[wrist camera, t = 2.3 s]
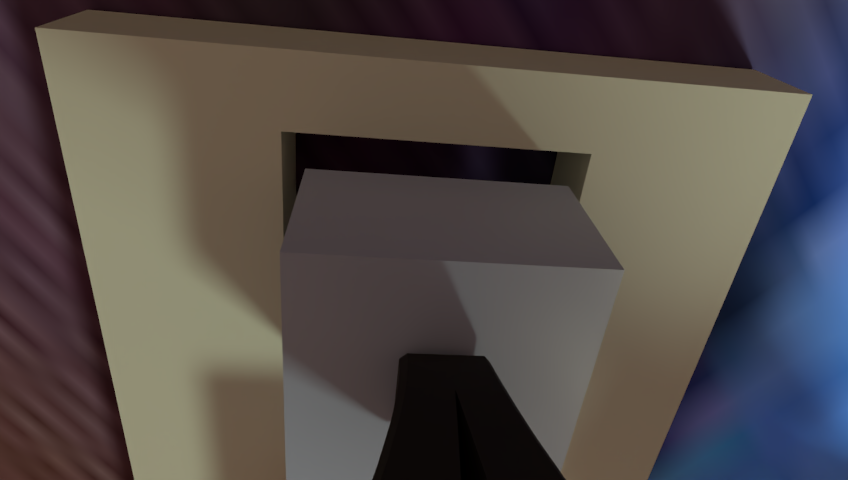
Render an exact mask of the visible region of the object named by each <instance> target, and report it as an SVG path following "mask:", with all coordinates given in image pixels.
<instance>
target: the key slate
mask: <svg viewBox="0 0 848 480" xmlns="http://www.w3.org/2000/svg"><path fill="white" fill-rule="evenodd" d="M623 274H624V269H623V267H622V266H621V264H620V263H619V261H618V260H617V258H616V257H615V255H614V254H613V252H612V251H611V249H610V248H609V246H608V245H607V243H606V242H605V240H604V239H603V237H602V236H601V234H600V233H599V231H598V230H597V228H596V227H595V225H594V224H593V222H592V221H591V219H590V218H589V216H588V215H587V213H586V212H585V210H584V209H583V207H582V206H581V204H580V203H579V201H578V200H577V198H576V197H575V195H574V194H573V192H572V191H571V189H570V188H569V186H560V185H545V184H529V183H514V182H499V181H484V180H469V179H454V178H439V177H424V176H409V175H394V174H379V173H364V172H349V171H334V170H319V169H305V171H304V174H303V177H302V181H301V184H300V187H299V190H298V194H297V197H296V200H295V203H294V207H293V210H292V213H291V217H290V220H289V223H288V226H287V230H286V233H285V236H284V240H283V243H282V246H281V249H280V282H281V317H282V353H283V388H284V424H285V459H286V480H372V479H373V476H374V473H375V470H376V467H377V464H378V461H379V458H380V455H381V452H382V448H383V445H384V442H385V438H386V435H387V432H388V429H389V425H390V422H391V418H392V413H393V409H394V404H395V394H396V384H397V374H398V364H399V358H401V357H402V356H404V355H405V354H407V353H414V354H442V355H471V356H485V357H486V358H487V359H488V361H489V362H490V363H491V365H492V367H493V368H494V370H495V372H496V374H497V375H498V377H499V379H500V380H501V382H502V384H503V385H504V387H505V389H506V390H507V392H508V394H509V395H510V397H511V399H512V400H513V402H514V404H515V405H516V407H517V408H518V410H519V411H520V413H521V415H522V416H523V418H524V419H525V421H526V422H527V424H528V425H529V427H530V428H531V430H532V431H533V433H534V434H535V436H536V437H537V439H538V440H539V442H540V443H541V445H542V446H543V448H544V449H545V451H546V452H547V453H548V455H549V456H550V458H551V459H552V461H553V462H554V463H555V465H556V466H557V468H558V469H559V470H560V472H561V470H562V467H563V463H564V460H565V457H566V454H567V451H568V448H569V445H570V441H571V438H572V435H573V432H574V429H575V426H576V422H577V419H578V416H579V413H580V410H581V407H582V403H583V400H584V397H585V394H586V391H587V388H588V384H589V381H590V378H591V375H592V372H593V369H594V365H595V362H596V359H597V356H598V353H599V350H600V346H601V343H602V340H603V337H604V334H605V331H606V327H607V324H608V321H609V318H610V315H611V312H612V308H613V305H614V302H615V299H616V296H617V293H618V289H619V286H620V283H621V280H622V277H623Z"/></svg>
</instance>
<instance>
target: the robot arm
mask: <svg viewBox="0 0 848 480" xmlns="http://www.w3.org/2000/svg"><path fill="white" fill-rule="evenodd" d="M372 480H566V479H565V478H564V476H563V475H562V473H561V472H560V470H559V469H558V468H557V466H556V465H555V463H554V462H553V461H552V459H551V458H550V456H549V455H548V453H547V452H546V451H545V449H544V448H543V446H542V445H541V443H540V442H539V440H538V439H537V437H536V436H535V434H534V433H533V431H532V430H531V428H530V427H529V425H528V424H527V422H526V421H525V419H524V418H523V416H522V415H521V413H520V411H519V410H518V408H517V407H516V405H515V404H514V402H513V400H512V399H511V397H510V395H509V394H508V392H507V390H506V389H505V387H504V385H503V384H502V382H501V380H500V379H499V377H498V375H497V374H496V372H495V370H494V368H493V367H492V365H491V363H490V362H489V361H488V359H487V358H486V357H485V356H471V355H442V354H414V353H407V354H405V355H404V356H402V357H401V358H399V364H398V374H397V384H396V394H395V404H394V409H393V413H392V418H391V422H390V425H389V429H388V432H387V435H386V438H385V442H384V445H383V448H382V452H381V455H380V458H379V461H378V464H377V467H376V470H375V473H374V476H373V479H372Z"/></svg>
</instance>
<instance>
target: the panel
mask: <svg viewBox="0 0 848 480" xmlns="http://www.w3.org/2000/svg"><path fill="white" fill-rule="evenodd" d="M35 31H36V35H37V40H38V45H39V49H40V54H41V58H42V63H43V67H44V72H45V76H46V81H47V85H48V90H49V94H50V99H51V104H52V108H53V113H54V117H55V122H56V126H57V131H58V135H59V140H60V144H61V149H62V154H63V158H64V163H65V167H66V172H67V176H68V181H69V185H70V190H71V194H72V199H73V204H74V208H75V213H76V217H77V222H78V226H79V231H80V235H81V240H82V244H83V249H84V254H85V258H86V263H87V267H88V272H89V276H90V281H91V285H92V290H93V294H94V299H95V304H96V308H97V313H98V317H99V322H100V326H101V331H102V335H103V340H104V344H105V349H106V353H107V358H108V363H109V367H110V372H111V376H112V381H113V385H114V390H115V394H116V399H117V403H118V408H119V413H120V417H121V422H122V426H123V431H124V435H125V440H126V444H127V449H128V453H129V458H130V463H131V467H132V472H133V476H134V480H286V459H285V424H284V388H283V353H282V317H281V282H280V249H281V246H282V243H283V240H284V236H285V233H286V230H287V226H288V223H289V220H290V217H291V213H292V210H293V207H294V203H295V200H296V133H309V134H323V135H337V136H351V137H364V138H378V139H392V140H406V141H419V142H433V143H447V144H461V145H474V146H488V147H502V148H516V149H530V150H543V151H557V156H556V161H555V165H554V170H553V174H552V179H551V183H550V185H560V186H569V188H570V189H571V191H572V192H573V194H574V195H575V197H576V198H577V200H578V201H579V203H580V204H581V206H582V207H583V209H584V210H585V212H586V213H587V215H588V216H589V218H590V219H591V221H592V222H593V224H594V225H595V227H596V228H597V230H598V231H599V233H600V234H601V236H602V237H603V239H604V240H605V242H606V243H607V245H608V246H609V248H610V249H611V251H612V252H613V254H614V255H615V257H616V258H617V260H618V261H619V263H620V264H621V266H622V267H623V269H624V274H623V277H622V280H621V283H620V286H619V289H618V293H617V296H616V299H615V302H614V305H613V308H612V312H611V315H610V318H609V321H608V324H607V327H606V331H605V334H604V337H603V340H602V343H601V346H600V350H599V353H598V356H597V359H596V362H595V365H594V369H593V372H592V375H591V378H590V381H589V384H588V388H587V391H586V394H585V397H584V400H583V403H582V407H581V410H580V413H579V416H578V419H577V422H576V426H575V429H574V432H573V435H572V438H571V441H570V445H569V448H568V451H567V454H566V457H565V460H564V463H563V467H562V470H561V473H562V475H563V476H564V478H565V479H566V480H648V477H649V475H650V473H651V470H652V468H653V466H654V463H655V461H656V459H657V456H658V454H659V452H660V449H661V447H662V445H663V442H664V440H665V438H666V435H667V433H668V431H669V428H670V426H671V424H672V421H673V419H674V417H675V414H676V412H677V410H678V407H679V405H680V403H681V400H682V398H683V396H684V393H685V391H686V389H687V386H688V384H689V382H690V379H691V377H692V375H693V372H694V370H695V368H696V365H697V363H698V361H699V358H700V356H701V354H702V351H703V349H704V347H705V344H706V342H707V340H708V337H709V335H710V333H711V330H712V328H713V326H714V323H715V321H716V319H717V316H718V314H719V312H720V309H721V307H722V305H723V302H724V300H725V298H726V295H727V293H728V291H729V288H730V286H731V284H732V281H733V279H734V277H735V274H736V272H737V270H738V267H739V265H740V263H741V260H742V258H743V256H744V253H745V251H746V249H747V246H748V244H749V242H750V239H751V237H752V235H753V232H754V230H755V228H756V225H757V223H758V221H759V218H760V216H761V214H762V211H763V209H764V207H765V204H766V202H767V200H768V197H769V195H770V193H771V190H772V188H773V186H774V183H775V181H776V179H777V176H778V174H779V172H780V169H781V167H782V165H783V162H784V160H785V158H786V155H787V153H788V151H789V148H790V146H791V144H792V141H793V139H794V137H795V134H796V132H797V130H798V127H799V125H800V123H801V120H802V118H803V116H804V113H805V111H806V109H807V106H808V104H809V102H810V99H811V97H812V94H809V93H807V92H805V91H802V90H800V89H798V88H795V87H793V86H791V85H789V84H786V83H784V82H782V81H779V80H777V79H775V78H772V77H770V76H768V75H765V74H763V73H761V72H758V71H756V70H752V69H741V68H730V67H718V66H707V65H696V64H685V63H674V62H663V61H652V60H641V59H630V58H619V57H608V56H597V55H586V54H575V53H563V52H552V51H541V50H530V49H519V48H508V47H497V46H486V45H475V44H464V43H453V42H442V41H431V40H420V39H408V38H397V37H386V36H375V35H364V34H353V33H342V32H331V31H320V30H309V29H298V28H287V27H276V26H265V25H253V24H242V23H231V22H220V21H209V20H198V19H187V18H176V17H165V16H154V15H143V14H132V13H121V12H110V11H98V10H85V11H82V12H79V13H76V14H73V15H70V16H67V17H64V18H61V19H58V20H55V21H52V22H49V23H47V24H44V25H41V26H38V27H35Z"/></svg>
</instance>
